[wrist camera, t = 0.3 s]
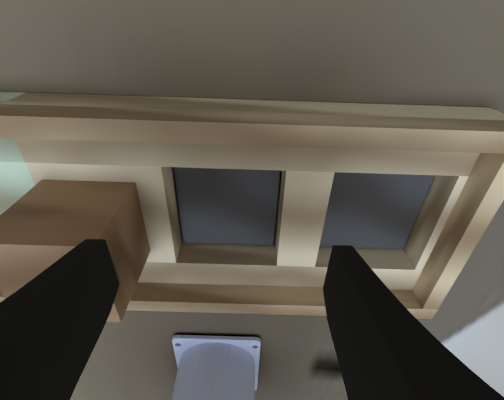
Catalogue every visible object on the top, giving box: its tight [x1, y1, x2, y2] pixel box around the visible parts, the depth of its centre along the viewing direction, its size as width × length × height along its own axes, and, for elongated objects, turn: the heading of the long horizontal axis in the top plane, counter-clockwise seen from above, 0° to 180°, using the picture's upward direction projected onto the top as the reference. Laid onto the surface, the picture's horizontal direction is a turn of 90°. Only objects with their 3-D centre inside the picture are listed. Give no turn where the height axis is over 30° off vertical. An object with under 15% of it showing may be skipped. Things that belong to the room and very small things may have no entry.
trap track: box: [0, 92, 504, 319], centre depth 18 cm, size 13×32×4 cm, turn 88°
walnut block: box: [0, 180, 150, 322], centre depth 15 cm, size 5×5×5 cm
